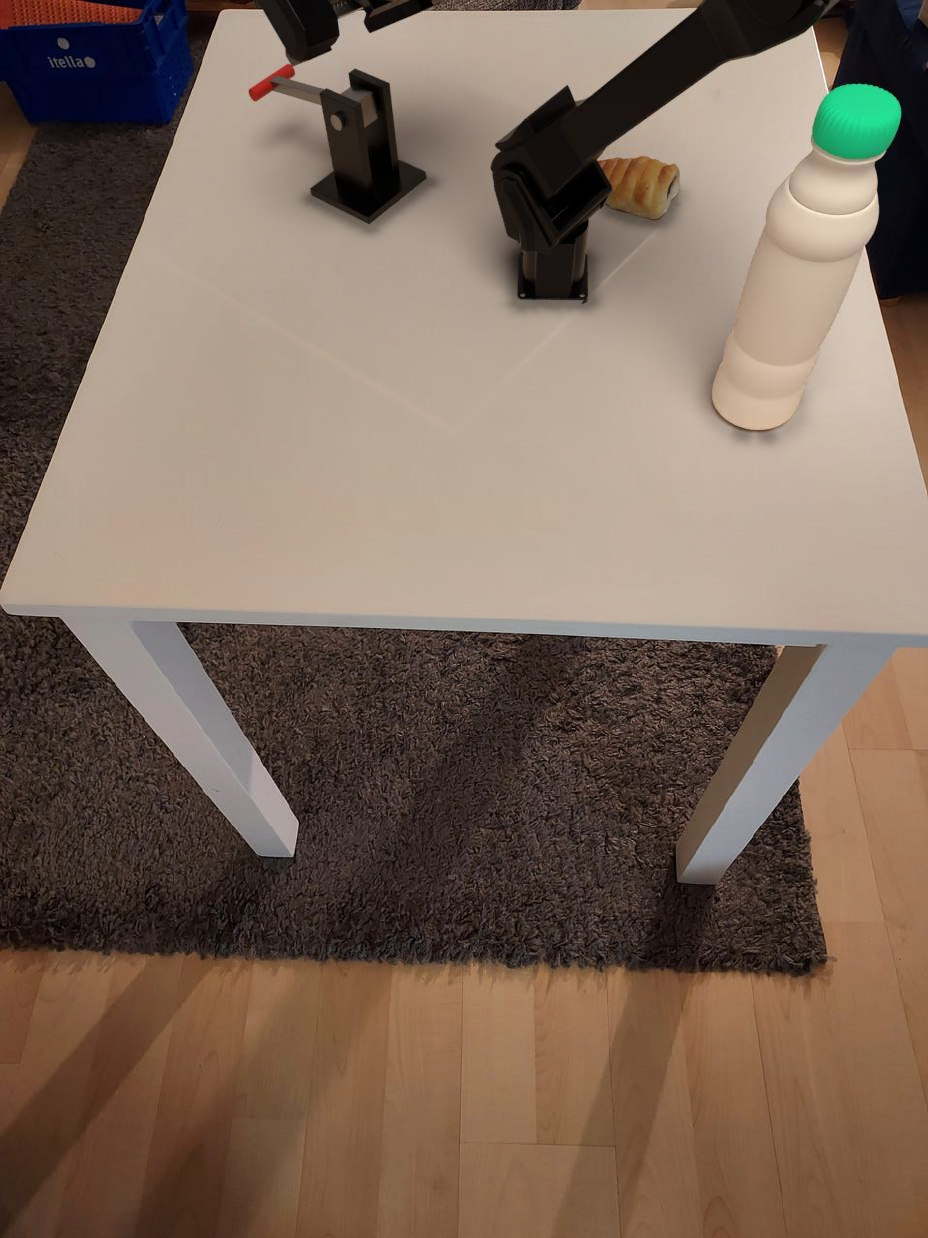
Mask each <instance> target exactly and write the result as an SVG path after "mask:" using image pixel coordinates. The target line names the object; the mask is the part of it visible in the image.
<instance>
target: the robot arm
mask: <svg viewBox="0 0 928 1238" xmlns="http://www.w3.org/2000/svg"><path fill="white" fill-rule="evenodd" d="M256 1H257V3H258V4H259V6H260V8H261V9H262V12H263V13H264V15H265V16H266V18H267V19H268V21H269V23H270V25H271V26H272V29H273V30H274V31H275V34H276V35H277V37H278V39H279V40H280V42H281V43H282V45H283V47H284V52H285V57H286V59H287V61H288V62H289V64H291V66H292V67H293V68H294V67H296V66H298V65H302V64H303V63H307V62H309V61H311V60H313V59H316V58H318V57H320V56H322V55H325V54H328V53H329V52H332V51H333V48H332V46H334V45H335V43H336V42H337V41H338V39H339V38H340V35H341V33H340V26H339V20H340V19H342V18H345V17H347V16H349V15H351V14H352V15H353V14H354V13H357V12H359V11H361V10H363V11H364V12H365V15H364V19H363V25H364V27H365V28H366V30H367V32H368V33H369V34H372V33H375V32H377V31H380V30H381V29H384V28H386V27H388V26H391V25H393V24H396V23H398V22H401V21H403V20H406V19H407V18H410V17H412V16H415V15H417V14H420V13H422V12H424V11H426V10H430V9H431V8H433V7H436V6H438V5H441V3H442V2H444V1H445V0H256ZM840 1H841V0H702V1H701V2H700V4H699V5H698V6H697V7H696V9H695V10H694V11H692V12H691V13H690V14H689V15H688V16H686V17H685V18H684V19H683V20H682V21H680V22H679V23H678V24H676V25H675V26H674V27H673V28H672V29H670V30H669V31H668V32H667V33H665V34H664V35H663V36H662V37H660V38H659V39H658V40H657V41H656V42H654V43H653V44H652V45H651V46H650V47H648V48H647V49H646V50H645V51H643V52H642V53H641V54H640V55H638V56H637V57H636V58H635V59H634V60H632V61H631V62H630V63H629V64H628V65H626V66H625V67H624V68H622V70H620V71H618V73H617V74H616V75H614V76H613V77H612V78H610V79H609V80H608V81H607V82H606V83H604V84H603V85H602V86H601V87H600V88H598V89H597V90H595V92H593V93H592V94H591V95H590V96H588V97H586V98H583V99H579V100H575V98H574V96H573V93H572V91H571V88H570V86H569V84H566V85H565V86H564V87H562V88H561V89H560V90H559V91H558V92H556V93H555V94H553V96H551V97H550V98H548V99H547V100H546V101H545V102H543V104H541V105H540V106H539V107H538V108H536V109H535V110H534V111H532V112H531V113H530V114H529V115H528V116H526V117H525V118H524V119H523V120H522V121H521V122H519V124H518V125H516V126H515V127H513V129H511V130H510V131H509V132H508V133H507V134H505V135H503V137H502V138H500V139H499V140H498V141H496V143H494V147H495V149H497V150H498V151H499V152H497V153H496V154H495V156H494V157H493V158H492V160H491V163H490V165H489V166H490V171H491V173H492V174H491V175H492V176H491V177H492V181H493V189H494V193H495V197H496V201H497V204H498V207H499V211H500V215H501V218H502V223H503V225H504V229H505V232H506V236H507V237H509V238H510V239H513V240H514V241H516V242H517V244H518V245H519V249H520V250H521V252H519V254H518V268H517V269H518V271H517V273H518V274H517V294H516V296H517V298H518V299H519V300H522V301H524V300H525V301H526V300H529V301H534V300H535V301H582V302H581V304H582V303H586V302H587V301H588V299H589V272H588V271H589V270H588V269H589V267H588V253H587V243H588V234H589V225H590V220H589V219H590V218H591V217H592V216H594V215H595V213H596V212H598V211H599V210H600V209H602V208H604V207H605V205H607V204H606V202H607V200H608V198H609V197H610V195H611V193H612V191H613V188H612V185H611V184H610V182H609V180H608V178H607V177H606V175H605V173H604V171H603V170H602V168H601V166H600V164H599V162H598V161H599V160H598V159H599V158H600V157H601V156H602V155H603V153H604V151H606V149H607V147H609V146H611V145H612V144H613V143H615V142H616V141H617V140H619V139H620V138H622V137H623V136H624V135H626V134H627V133H629V132H630V131H631V130H633V129H635V127H637V126H638V125H640V124H641V123H643V122H644V121H646V119H648V118H649V117H651V116H652V115H654V114H655V113H656V112H658V111H660V109H663V108H664V107H665V106H666V105H668V104H669V103H670V102H672V101H673V100H675V99H676V98H677V97H679V96H681V95H682V94H683V93H684V92H686V91H687V90H688V89H690V88H691V87H693V86H694V85H695V84H697V83H698V82H699V81H701V80H703V79H704V78H705V77H707V76H708V75H710V74H711V73H712V72H714V71H715V70H716V69H719V67H721V66H722V65H724V64H726V63H729V62H732V61H736V60H741V59H746V58H750V57H754V56H757V55H759V54H761V53H764V52H766V51H769V50H770V49H773V48H775V47H778V46H780V45H782V44H784V43H786V42H788V41H791V40H793V39H796V38H798V37H799V36H801V35H803V34H804V33H806V32H807V31H809V30H810V29H811V28H812V26H814V25H815V24H816V23H817V22H818V21H820V19H821V18H822V17H824V15H826V14H827V13H828V12H829V11H830V10H831V9H832V8H834V7H835V6H836V5H837V4H838V3H839V2H840ZM522 295H523V296H522Z"/></svg>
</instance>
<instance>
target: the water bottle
mask: <svg viewBox="0 0 928 1238" xmlns="http://www.w3.org/2000/svg"><path fill="white" fill-rule="evenodd" d="M901 119H902V107H901V105H900V101H899V100H898V99H897V97H895V96H894V94H893V93H891V92H889V91H888V90H885V89H884V88H881V87H879V86H876V85H875V86H874V85H873V84H867V83H864V84H862V83H857V84H856V83H851V84H850V83H847V84H845V85H840V86H837V87H834V88H833V89H832V90H831V91H829V92H828V93H827V94H826V95H825V96H824V97H823V99H822V100H821V102H820V104H819V106H818V108H817V111H816V114H815V117H814V120H813V123H812V128H811V133H812V134H811V136H810V144H811V146H812V150H811V151H810V152H809V153H808V154H807V155H806V156H805V157H804V158H802V159H801V160H800V161H799V163H797V164H796V166H795V168H794V169H793V171H792V172H791V173H790V174H789V175H788V176H787V177H786V178H784V180H783V181H782V182H781V183H780V184H779V185H778V186H777V188H776V189H775V191H774V192H773V194H772V196H771V197H770V199H769V202H768V205H767V208H766V212H765V224H764V227H763V229H762V231H761V233H760V237H759V239H758V241H757V244H756V247H755V249H754V253H753V255H752V257H751V261H750V264H749V267H748V271H747V273H746V277H745V281H744V283H743V287H742V291H741V294H740V298H739V302H738V306H737V310H736V315H735V320H734V325H733V326H732V328H731V329H730V331H729V334H728V337H727V338H726V342H725V346H724V350H723V355H722V360H721V363H720V364H719V366H718V368H717V372H716V375H715V378H714V380H713V383H712V388H711V399H712V400H711V401H712V403H713V406H714V408H715V409H716V411H717V413H719V415H720V416H721V417H722V418H723V419H725V420H726V421H728V422H729V423H731V424H732V425H734V426H736V427H738V428H742V429H746V430H751V431H765V430H770V429H771V430H772V429H775V428H777V427H780V426H781V425H783V424H785V423H786V422H788V421H789V420H790V419H791V418H792V416H793V415H794V414H795V412H796V410H797V409H798V406H799V403H800V401H801V399H802V396H803V394H804V390H805V387H806V382H808V380H809V378H810V377H811V375H812V374H813V373H812V372H813V371H814V369H815V367H816V364H817V362H818V359H819V356H820V352H821V346H822V345H823V343H824V341H825V339H826V338H827V336H828V334H829V332H830V330H831V328H832V327H833V324H834V322H835V320H836V318H837V316H838V314H839V312H840V310H841V307H842V305H843V304H844V300H845V298H846V296H847V293H848V291H849V290H850V286H851V284H852V281H853V279H854V277H855V274H856V271H857V269H858V266H859V263H860V261H861V257H862V255H863V251H864V248H865V246H866V245H867V244H868V243H869V242H870V240H871V238H872V236H874V233H875V231H876V228H877V225H878V222H879V215H880V204H879V195H878V182H879V181H878V175H877V170H876V167H875V165H876V162H877V161H878V160H880V159H881V158H883V156H884V155H885V154H886V152H887V149H888V148H889V147H890V146H891V145H892V142H893V141H894V139H895V137H896V135H897V133H898V130H899V126H900V123H901Z"/></svg>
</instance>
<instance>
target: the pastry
mask: <svg viewBox="0 0 928 1238" xmlns="http://www.w3.org/2000/svg"><path fill="white" fill-rule="evenodd" d="M597 161H598V162H599V164H600V166H601V168H602V170H603V171H604V173H605V175H606V177H607V178H608V180H609V182H610V184H611V185H612V188H613V191H612V193H611V195H610V197H609V198H608V200H607V202H606V204H605V205H607V206H608V207H610V209H614V210H618V211H623V212H626V213H628V214H631V215H634V216H637V217H641V218H647V219H649V220H656V219H657V220H658V219H660V218H661V217H662V216H663V215H664V214H666V213H667V210H668V208H669V207H670V205H671V201H672V200H673V199H675V198H676V196H677V195H678V193H679V191H680V187H681V181H680V180H681V179H680V178H681V173H680V168H679V167H678V165H677V164H676V163H675V162H674V163H671V164H668V163H666V162H663V161H661V160H659V159H656V158H651V157H649V156H647V155H639V156H638V157H634V158H633V157H628V158H623V157H614V158H608V159H599V160H597Z"/></svg>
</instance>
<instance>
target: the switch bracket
mask: <svg viewBox="0 0 928 1238" xmlns="http://www.w3.org/2000/svg"><path fill="white" fill-rule="evenodd" d="M347 75H348V80H349V87H351V86H354V87H357V88H361V89H364V90H368V91H372V92H373V95H374V100H375V105H376V110H377V115H378V119H376V120H375V121H373V122H372V123H371V124H369V125H368V126H367V127H364V120H363V113H362V106H361V103H359V102H357V101H354V100H352V99H350V98H348V97H345V96H343V95H341V93H339V92H336V91H334V90H331V89H329V88H327V87H326V88H323V89H324V90H323V91H321V92H320V93H319V94H320V100H321V105H320V106H321V110H322V116H323V121H324V127H325V132H326V137H327V143H328V148H329V154H330V159H331V165H332V170H333V171H331V172H330V173H329V174H327V175H325V177H323V178H322V179H320V180H319V181H318V182H317V183H315V184H313V186H312V187H310V188H309V190H310V195H311V196H312V197H314V198H316V199H318V200H321V201H322V202H324V203H326V204H328V205H330V206H331V207H334V208H336V209H338V210H340V211H342V212H344V213H346V214H347V215H350V216H351V217H353V218H356V219H358V220H360V221H361V222H364V223H366V224H368V225H371V223H373V222H374V221H375V220H376V219H378V218H379V217H380V216H382V215H383V214H384V213H385V212H387V211H388V210H389V209H391V208H392V207H393V206H394V205H395V204H397V203H398V202H399V201H401V199H403V198H404V197H405V196H407V195H408V194H409V193H410V192H412V191H413V190H414V189H416V188H417V187H418V186H419V185H420V184H422V183H423V182H424V181H425V180H426V179H427V171H425V170H423V169H421V168H419V167H416V166H414V165H412V164H410V163H407V162H406V161H403V160H402V159H399V155H398V146H397V145H398V144H397V138H396V128H395V127H396V126H395V118H394V110H393V109H394V108H393V101H392V91H391V84H390V82H388V81H386V80H384V79H381V78H379V77H377V76H374V75H372V74H369V73H367V72H365V71H363V70H360V69H358V68H353V69H352V70H351V71H349V72H348V74H347Z"/></svg>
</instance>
